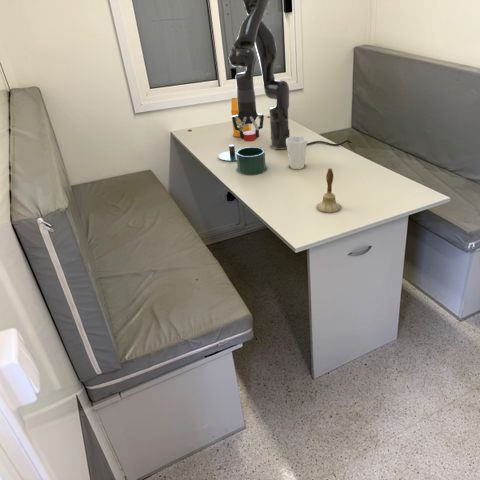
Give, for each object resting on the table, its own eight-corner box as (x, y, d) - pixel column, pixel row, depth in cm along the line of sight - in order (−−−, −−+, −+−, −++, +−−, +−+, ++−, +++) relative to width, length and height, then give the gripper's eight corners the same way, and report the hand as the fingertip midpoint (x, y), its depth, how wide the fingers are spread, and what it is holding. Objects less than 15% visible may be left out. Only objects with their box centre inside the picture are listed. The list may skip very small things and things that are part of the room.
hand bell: (338, 202, 169) (339, 164, 161) (340, 212, 162) (341, 173, 154) (317, 203, 169) (317, 164, 160) (318, 212, 162) (318, 173, 153)
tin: (264, 163, 205) (262, 146, 200) (267, 173, 194) (265, 155, 190) (237, 165, 202) (235, 148, 198) (238, 175, 192) (236, 157, 187)
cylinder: (255, 137, 193) (255, 130, 192) (256, 141, 189) (256, 134, 187) (243, 137, 192) (242, 131, 191) (244, 142, 187) (243, 135, 186)
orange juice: (249, 136, 239) (246, 99, 228) (233, 136, 239) (229, 99, 229) (251, 132, 246) (248, 96, 235) (236, 132, 246) (232, 96, 235)
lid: (245, 151, 218) (244, 140, 215) (247, 161, 207) (246, 149, 203) (218, 153, 215) (217, 141, 212) (218, 163, 204) (217, 151, 201)
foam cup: (310, 164, 203) (310, 137, 196) (301, 171, 196) (301, 144, 189) (292, 161, 206) (291, 135, 200) (283, 168, 199) (282, 141, 193)
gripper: (262, 96, 186) (265, 134, 195) (228, 98, 183) (232, 137, 192) (264, 100, 179) (266, 140, 188) (229, 102, 177) (233, 142, 186)
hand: (249, 138), depth 190 cm, fingers closed on cylinder, 5 cm apart
